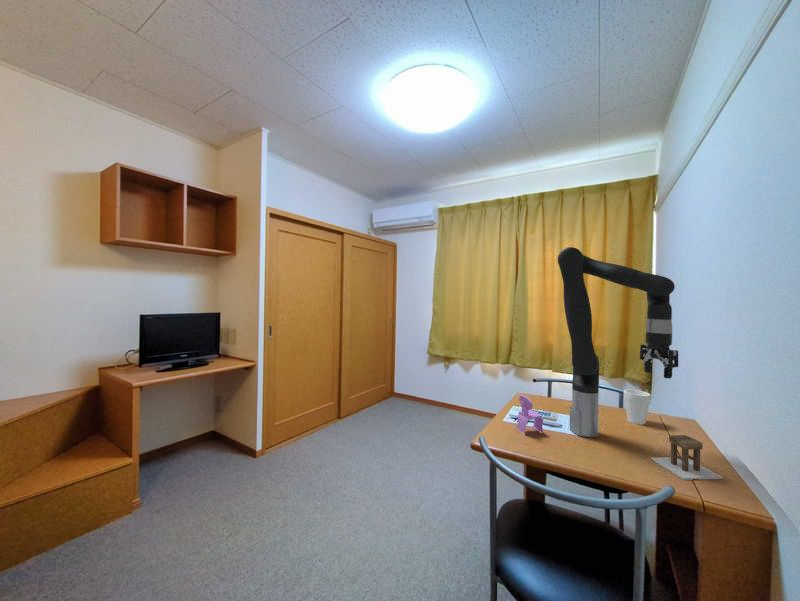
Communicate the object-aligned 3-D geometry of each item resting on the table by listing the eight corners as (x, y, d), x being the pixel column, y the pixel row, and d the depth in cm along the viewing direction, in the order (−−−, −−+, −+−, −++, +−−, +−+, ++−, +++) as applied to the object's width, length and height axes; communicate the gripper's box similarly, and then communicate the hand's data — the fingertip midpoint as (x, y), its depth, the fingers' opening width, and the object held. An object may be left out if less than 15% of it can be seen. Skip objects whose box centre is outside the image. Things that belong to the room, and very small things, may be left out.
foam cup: (655, 426, 135) (656, 395, 135) (635, 426, 134) (635, 396, 134) (637, 417, 144) (637, 389, 144) (618, 418, 144) (618, 389, 144)
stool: (702, 471, 98) (702, 442, 98) (685, 472, 98) (685, 443, 98) (685, 462, 104) (685, 435, 104) (668, 462, 104) (669, 435, 104)
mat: (684, 479, 95) (684, 477, 95) (650, 459, 107) (650, 457, 107) (722, 478, 95) (722, 476, 95) (684, 458, 107) (684, 456, 107)
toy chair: (545, 434, 126) (545, 397, 126) (526, 437, 124) (526, 399, 124) (532, 426, 134) (532, 391, 134) (513, 428, 132) (514, 392, 132)
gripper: (686, 334, 110) (685, 380, 110) (652, 329, 124) (651, 370, 124) (665, 333, 109) (664, 380, 110) (634, 329, 124) (632, 370, 124)
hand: (657, 375), depth 117 cm, fingers open, 8 cm apart
